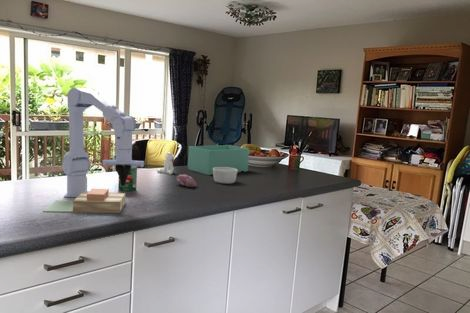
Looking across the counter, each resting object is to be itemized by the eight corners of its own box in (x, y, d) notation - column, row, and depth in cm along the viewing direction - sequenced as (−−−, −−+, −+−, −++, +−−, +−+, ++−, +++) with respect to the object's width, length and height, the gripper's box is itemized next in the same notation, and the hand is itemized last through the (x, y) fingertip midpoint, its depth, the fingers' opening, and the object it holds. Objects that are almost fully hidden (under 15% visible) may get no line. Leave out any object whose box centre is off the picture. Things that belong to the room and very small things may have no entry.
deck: (82, 202, 150) (82, 191, 150) (125, 202, 152) (125, 193, 152) (72, 212, 136) (73, 200, 136) (119, 212, 139) (119, 202, 138)
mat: (56, 201, 149) (56, 200, 149) (82, 201, 151) (82, 200, 150) (43, 211, 134) (42, 210, 134) (71, 212, 136) (71, 211, 136)
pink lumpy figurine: (177, 187, 193) (173, 175, 190) (182, 182, 196) (179, 170, 193) (193, 190, 188) (189, 178, 185) (198, 185, 191) (194, 173, 188)
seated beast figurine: (156, 172, 221) (156, 152, 220) (164, 170, 229) (165, 150, 228) (170, 174, 218) (171, 153, 216) (178, 172, 226) (179, 152, 224)
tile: (92, 193, 148) (92, 188, 147) (108, 194, 149) (108, 189, 148) (86, 199, 139) (86, 194, 139) (103, 199, 140) (104, 194, 139)
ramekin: (232, 179, 216) (233, 166, 215) (240, 184, 203) (240, 171, 202) (209, 179, 212) (210, 166, 211) (215, 184, 199) (216, 171, 198)
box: (247, 171, 246) (249, 148, 244) (208, 175, 225) (209, 150, 223) (226, 166, 261) (228, 145, 259) (187, 169, 240) (188, 146, 238)
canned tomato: (117, 192, 168) (118, 167, 167) (118, 188, 176) (118, 165, 174) (136, 192, 170) (137, 168, 169) (136, 188, 178) (137, 165, 177)
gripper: (101, 149, 138) (100, 186, 139) (143, 151, 140) (142, 187, 141) (105, 147, 145) (104, 183, 146) (144, 148, 147) (143, 184, 148)
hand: (123, 185), depth 144 cm, fingers closed
